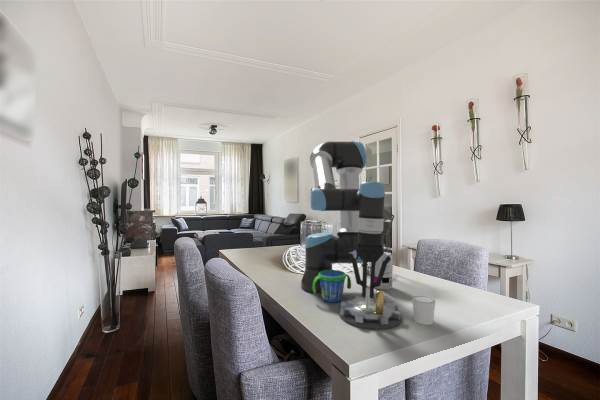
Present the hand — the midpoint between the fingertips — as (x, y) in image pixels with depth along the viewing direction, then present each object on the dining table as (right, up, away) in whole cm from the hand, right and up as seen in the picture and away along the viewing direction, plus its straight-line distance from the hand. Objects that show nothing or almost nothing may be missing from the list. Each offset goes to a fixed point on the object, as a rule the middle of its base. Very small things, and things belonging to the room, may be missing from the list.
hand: (367, 307), depth 93 cm
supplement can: (+15, -5, +37) cm, 40 cm away
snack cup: (-9, -5, +22) cm, 24 cm away
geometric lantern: (+18, -4, +59) cm, 61 cm away
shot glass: (+19, -6, +3) cm, 20 cm away
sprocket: (+2, -4, +6) cm, 8 cm away
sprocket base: (+2, -5, +7) cm, 9 cm away
